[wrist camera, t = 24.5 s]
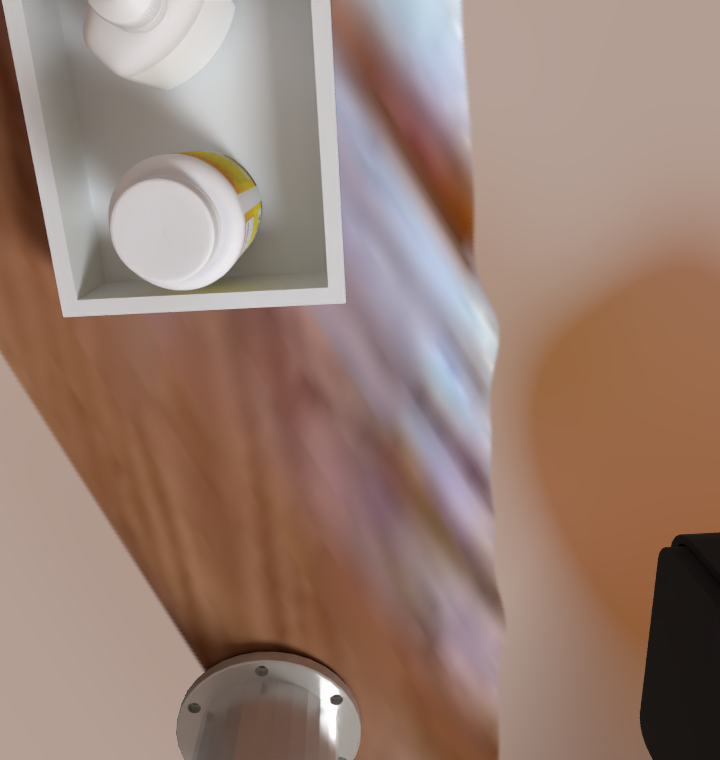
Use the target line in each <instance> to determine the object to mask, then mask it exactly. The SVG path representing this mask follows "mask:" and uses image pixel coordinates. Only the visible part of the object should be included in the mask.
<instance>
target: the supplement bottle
mask: <svg viewBox="0 0 720 760" xmlns="http://www.w3.org/2000/svg"><path fill="white" fill-rule="evenodd" d="M261 219H262V201H261V196H260V192H259V189H258V187H257V185H256V183H255V181H254V179H253V178H252V176H251V175H250V174H249V172H248V171H247V170H246V169H245V168H244V167H243V166H242V165H241V164H239V163H238V162H237V161H235V160H234V159H232V158H231V157H229V156H227V155H224V154H221V153H218V152H213V151H190V152H178V153H167V154H160V155H156V156H153V157H149V158H147V159H145V160H142V161H140V162H139V163H137V164H135V165H134V166H133V167H132V168H130V169H129V170H128V171H127V172H126V173H125V174H124V175H123V176H122V178H121V179H120V180H119V182H118V183H117V185H116V187H115V189H114V191H113V194H112V197H111V200H110V205H109V213H108V221H109V229H110V235H111V240H112V243H113V246H114V248H115V250H116V252H117V254H118V255H119V257H120V259H121V260H122V261H123V262H124V264H125V265H126V266H127V267H128V268H129V269H131V270H132V271H133V272H134V273H136V274H137V275H138V276H140V277H141V278H143V279H144V280H146V281H148V282H150V283H152V284H154V285H156V286H159V287H162V288H166V289H171V290H194V289H198V288H202V287H204V286H207V285H209V284H211V283H213V282H215V281H216V280H218V279H219V278H221V277H222V276H223V275H225V274H226V273H227V272H228V271H229V270H230V269H231V267H232V266H233V265H234V264H235V263H236V262H237V260H238V259H239V258H240V256H241V255H242V254H243V253H244V251H245V250H246V249H247V248H248V247H249V245H250V244H251V243H252V241H253V240H254V238H255V237H256V235H257V233H258V231H259V227H260V224H261Z"/></svg>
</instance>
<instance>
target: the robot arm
mask: <svg viewBox="0 0 720 760" xmlns="http://www.w3.org/2000/svg"><path fill="white" fill-rule="evenodd" d="M640 724H641V730H642V735H643V738H644V741H645V744H646V747H647V749H648V751H649V753H650V755H651V757H652V759H653V760H720V533H701V534H683V535H678V536H676V537H675V538H674V540H673V542H672V545H671V547H665V548H663V549H662V550H661V551H660V553H659V557H658V564H657V573H656V581H655V591H654V599H653V607H652V615H651V625H650V632H649V641H648V650H647V658H646V667H645V675H644V684H643V692H642V701H641V709H640ZM176 734H177V740H178V745H179V748H180V750H181V753H182V755H183V758H184V760H354V758H355V756H356V754H357V751H358V748H359V744H360V736H361V722H360V712H359V709H358V705H357V702H356V699H355V698H354V696H353V694H352V693H351V691H350V689H349V687H348V686H347V685H346V684H345V683H344V682H343V681H342V680H341V679H340V678H339V677H338V676H337V675H336V674H334V673H333V672H332V671H330V670H329V669H328V668H326V667H325V666H323V665H321V664H319V663H317V662H315V661H313V660H311V659H308V658H304V657H301V656H298V655H295V654H289V653H282V652H255V653H249V654H243V655H239V656H236V657H233V658H230V659H227V660H224V661H222V662H220V663H219V664H217V665H215V666H213V667H211V668H210V669H208V670H207V671H206V672H205V673H203V674H202V675H201V676H200V677H199V678H198V679H197V680H196V681H195V682H194V683H193V685H192V686H191V687H190V688H189V690H188V691H187V694H186V695H185V698H184V700H183V702H182V705H181V708H180V712H179V715H178V719H177V731H176Z"/></svg>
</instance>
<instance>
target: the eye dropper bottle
mask: <svg viewBox="0 0 720 760" xmlns="http://www.w3.org/2000/svg"><path fill="white" fill-rule="evenodd" d="M87 2H89V3H88V6H87V11H86V15H85V20H84V26H83V37H84V42H85V44H86V46H87V47H88V49H89V50H90V51H91V52H92V53H93V54H94V55H95V56H96V57H97V58H98V59H99V60H100V61H101V62H102V63H103V64H104V65H105V66H107V67H108V68H109V69H110V70H111V71H112V72H114V73H115V74H116V75H118V76H120V77H122V78H125V79H127V80H130V81H133V82H136V83H139V84H143V85H146V86H149V87H152V88H156V89H159V90H171V89H174V88H176V87H178V86H180V85H182V84H184V83H186V82H187V81H189V80H190V79H192V78H193V77H195V76H196V75H197V74H198V73H200V72H201V71H202V70H203V69H204V68H205V67H206V66H207V65H208V64H209V63H210V62H211V61H212V59H213V58H214V57H215V56H216V54H217V53H218V51H219V50H220V48H221V47H222V45H223V43H224V41H225V39H226V37H227V35H228V33H229V31H230V28H231V25H232V22H233V19H234V16H235V11H236V0H87Z"/></svg>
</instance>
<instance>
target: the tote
mask: <svg viewBox="0 0 720 760" xmlns="http://www.w3.org/2000/svg"><path fill="white" fill-rule="evenodd" d="M88 3H89V2H87V0H2V4H3V9H4V14H5V19H6V24H7V29H8V35H9V40H10V45H11V50H12V55H13V60H14V66H15V71H16V76H17V81H18V86H19V91H20V97H21V102H22V107H23V112H24V117H25V122H26V128H27V133H28V138H29V143H30V148H31V153H32V158H33V164H34V169H35V174H36V179H37V184H38V189H39V195H40V200H41V205H42V210H43V215H44V220H45V226H46V231H47V236H48V241H49V246H50V251H51V256H52V262H53V267H54V272H55V277H56V282H57V287H58V293H59V298H60V303H61V308H62V313H63V317H78V316H98V315H118V314H138V313H158V312H178V311H198V310H218V309H238V308H258V307H278V306H298V305H318V304H338V303H346V296H345V274H344V254H343V235H342V216H341V197H340V178H339V159H338V140H337V121H336V101H335V82H334V63H333V44H332V25H331V6H330V0H236V11H235V16H234V19H233V22H232V25H231V28H230V31H229V33H228V35H227V37H226V39H225V41H224V43H223V45H222V47H221V48H220V50H219V51H218V53H217V54H216V56H215V57H214V58H213V59H212V61H211V62H210V63H209V64H208V65H207V66H206V67H205V68H204V69H203V70H202V71H201V72H200V73H198V74H197V75H196V76H195V77H193V78H192V79H190V80H189V81H187V82H186V83H184V84H182V85H180V86H178V87H176V88H174V89H171V90H159V89H156V88H152V87H149V86H146V85H143V84H139V83H136V82H133V81H130V80H127V79H125V78H122V77H120V76H118V75H116V74H115V73H114V72H112V71H111V70H110V69H109V68H108V67H107V66H105V65H104V64H103V63H102V62H101V61H100V60H99V59H98V58H97V57H96V56H95V55H94V54H93V53H92V52H91V51H90V50H89V49H88V47H87V46H86V44H85V42H84V37H83V26H84V20H85V15H86V11H87V6H88ZM190 151H213V152H218V153H221V154H224V155H227V156H229V157H231V158H232V159H234V160H235V161H237V162H238V163H239V164H241V165H242V166H243V167H244V168H245V169H246V170H247V171H248V172H249V174H250V175H251V176H252V178H253V179H254V181H255V183H256V185H257V187H258V189H259V192H260V196H261V201H262V219H261V224H260V227H259V231H258V233H257V235H256V237H255V238H254V240H253V241H252V243H251V244H250V245H249V247H248V248H247V249H246V250H245V251H244V253H243V254H242V255H241V256H240V258H239V259H238V260H237V262H236V263H235V264H234V265H233V266H232V267H231V269H230V270H229V271H228V272H227V273H226V274H225V275H223V276H222V277H221V278H219V279H218V280H216V281H215V282H213V283H211V284H209V285H207V286H204V287H202V288H198V289H194V290H171V289H166V288H162V287H159V286H156V285H154V284H152V283H150V282H148V281H146V280H144V279H143V278H141V277H140V276H138V275H137V274H136V273H134V272H133V271H132V270H131V269H129V268H128V267H127V266H126V265H125V264H124V262H123V261H122V260H121V259H120V257H119V255H118V254H117V252H116V250H115V248H114V246H113V243H112V240H111V235H110V229H109V221H108V213H109V205H110V200H111V197H112V194H113V191H114V189H115V187H116V185H117V183H118V182H119V180H120V179H121V178H122V176H123V175H124V174H125V173H126V172H127V171H128V170H129V169H130V168H132V167H133V166H134V165H135V164H137V163H139V162H140V161H142V160H145V159H147V158H149V157H153V156H156V155H160V154H167V153H178V152H190Z"/></svg>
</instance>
